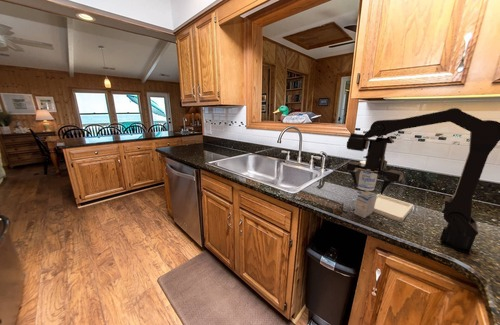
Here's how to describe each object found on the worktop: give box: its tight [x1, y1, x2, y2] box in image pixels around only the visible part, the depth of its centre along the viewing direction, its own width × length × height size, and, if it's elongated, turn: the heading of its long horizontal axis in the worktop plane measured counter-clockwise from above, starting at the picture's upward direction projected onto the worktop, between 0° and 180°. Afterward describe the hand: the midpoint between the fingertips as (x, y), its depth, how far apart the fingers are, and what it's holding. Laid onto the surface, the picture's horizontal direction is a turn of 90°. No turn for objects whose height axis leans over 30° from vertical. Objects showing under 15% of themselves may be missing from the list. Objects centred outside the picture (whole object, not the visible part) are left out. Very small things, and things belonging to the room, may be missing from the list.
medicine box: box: [354, 190, 378, 219], centre depth 80 cm, size 8×4×9 cm, turn 127°
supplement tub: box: [356, 160, 379, 192], centre depth 106 cm, size 10×10×15 cm
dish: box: [373, 193, 414, 223], centre depth 85 cm, size 14×18×2 cm
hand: (368, 190), depth 78 cm, fingers open, 9 cm apart
